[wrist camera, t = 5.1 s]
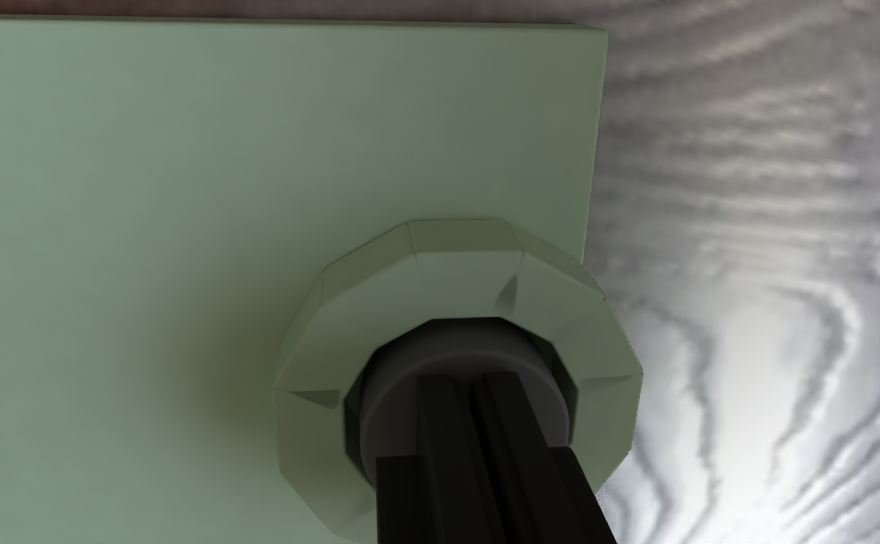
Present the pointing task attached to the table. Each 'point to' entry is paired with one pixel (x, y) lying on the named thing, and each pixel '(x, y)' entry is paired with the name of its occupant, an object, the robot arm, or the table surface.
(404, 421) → the button
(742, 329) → the table surface
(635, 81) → the table surface
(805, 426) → the table surface
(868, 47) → the table surface
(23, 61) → the scale
